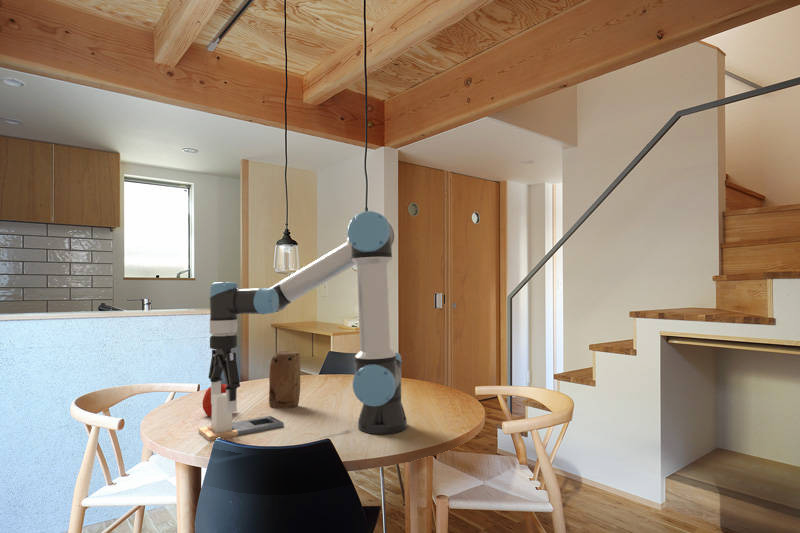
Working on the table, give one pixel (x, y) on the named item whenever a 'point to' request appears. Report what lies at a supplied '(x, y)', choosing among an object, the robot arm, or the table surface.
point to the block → (284, 380)
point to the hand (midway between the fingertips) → (223, 407)
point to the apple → (207, 400)
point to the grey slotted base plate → (243, 427)
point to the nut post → (220, 414)
